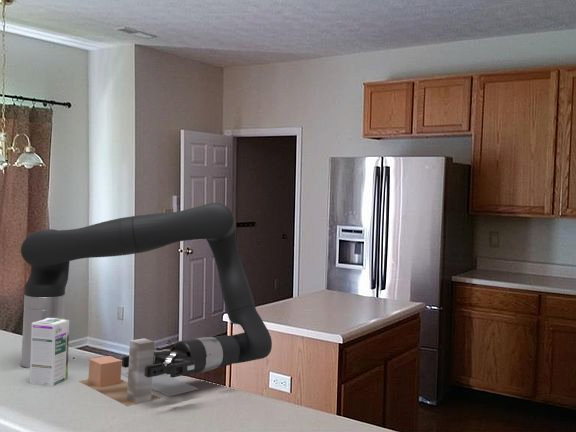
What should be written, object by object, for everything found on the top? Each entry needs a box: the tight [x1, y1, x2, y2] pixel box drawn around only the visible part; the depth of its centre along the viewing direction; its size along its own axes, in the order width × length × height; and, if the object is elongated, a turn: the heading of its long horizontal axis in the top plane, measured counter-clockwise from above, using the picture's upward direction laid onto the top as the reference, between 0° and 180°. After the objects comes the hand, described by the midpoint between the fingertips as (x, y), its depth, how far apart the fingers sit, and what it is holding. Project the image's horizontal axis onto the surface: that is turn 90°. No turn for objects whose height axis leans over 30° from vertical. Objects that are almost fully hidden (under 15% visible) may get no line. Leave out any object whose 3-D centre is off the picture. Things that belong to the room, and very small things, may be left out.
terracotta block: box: [88, 355, 122, 387], centre depth 131 cm, size 5×5×5 cm
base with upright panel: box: [78, 337, 161, 407], centre depth 126 cm, size 20×8×13 cm, turn 46°
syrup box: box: [29, 318, 70, 387], centre depth 130 cm, size 6×6×14 cm
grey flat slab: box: [121, 371, 199, 397], centre depth 134 cm, size 20×8×2 cm, turn 46°
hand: (133, 367), depth 120 cm, fingers open, 8 cm apart
